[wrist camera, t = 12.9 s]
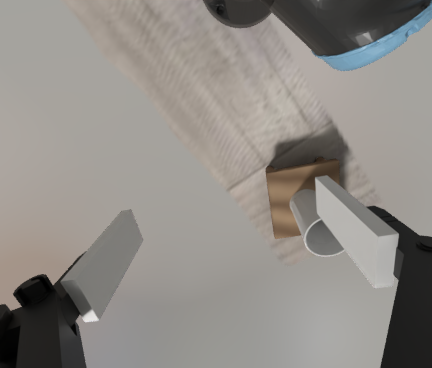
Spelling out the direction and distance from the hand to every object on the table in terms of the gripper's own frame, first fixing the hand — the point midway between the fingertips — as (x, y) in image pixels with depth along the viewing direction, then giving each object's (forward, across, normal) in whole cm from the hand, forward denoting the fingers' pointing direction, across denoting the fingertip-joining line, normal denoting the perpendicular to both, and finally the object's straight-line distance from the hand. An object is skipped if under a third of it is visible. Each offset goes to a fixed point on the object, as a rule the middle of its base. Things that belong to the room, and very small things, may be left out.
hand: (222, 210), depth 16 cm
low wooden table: (+35, +14, -17) cm, 41 cm away
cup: (+29, +14, -17) cm, 36 cm away
